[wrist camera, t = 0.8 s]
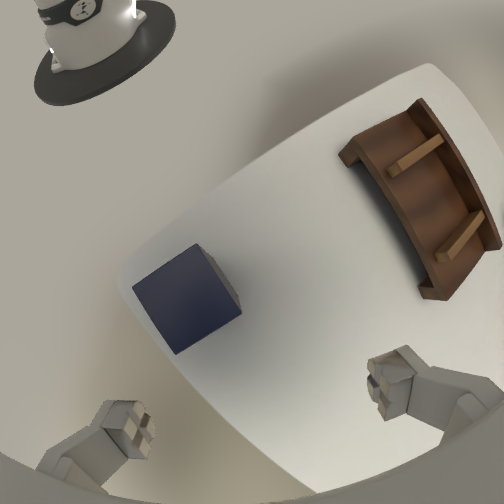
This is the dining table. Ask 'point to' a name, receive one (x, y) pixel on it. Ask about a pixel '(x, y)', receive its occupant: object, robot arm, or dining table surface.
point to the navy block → (188, 298)
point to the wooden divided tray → (429, 194)
